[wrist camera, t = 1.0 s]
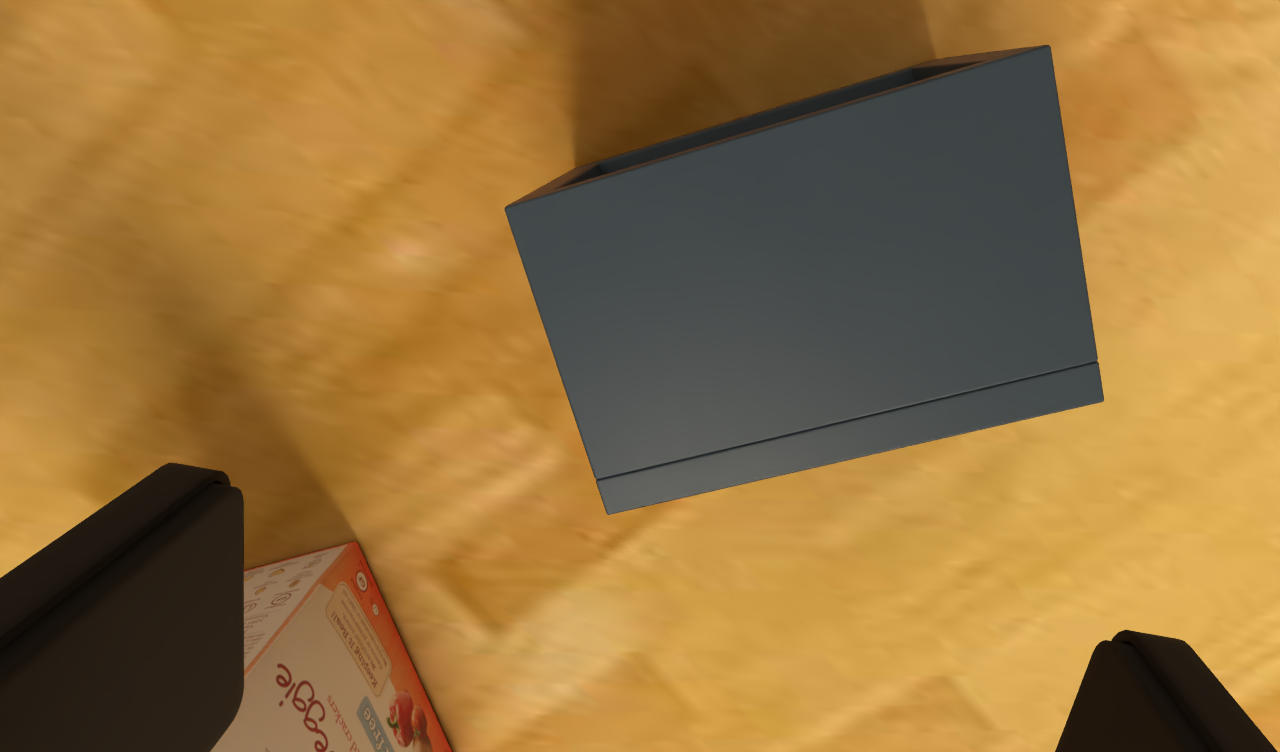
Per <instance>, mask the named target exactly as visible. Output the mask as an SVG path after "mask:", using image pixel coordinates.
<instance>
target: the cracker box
mask: <svg viewBox="0 0 1280 752" xmlns="http://www.w3.org/2000/svg"><path fill="white" fill-rule="evenodd" d="M210 752H452V750H451V749H450V747H449V745H448V742H447V740H446V738H445V736H444V733H443V731H442V729H441V727H440V724H439V722H438V720H437V718H436V716H435V713H434V711H433V709H432V707H431V705H430V702H429V700H428V698H427V696H426V694H425V691H424V689H423V687H422V685H421V682H420V680H419V678H418V676H417V674H416V671H415V669H414V667H413V665H412V663H411V660H410V658H409V656H408V654H407V652H406V649H405V647H404V645H403V643H402V640H401V638H400V636H399V634H398V632H397V629H396V627H395V625H394V623H393V620H392V618H391V616H390V614H389V612H388V609H387V607H386V605H385V603H384V600H383V598H382V596H381V595H380V592H379V589H378V587H377V585H376V583H375V581H374V578H373V576H372V574H371V572H370V570H369V567H368V565H367V562H366V560H365V558H364V557H363V554H362V552H361V550H360V547H359V545H358V543H357V542H350V543H346V544H343V545H339V546H335V547H331V548H327V549H323V550H319V551H316V552H312V553H308V554H304V555H300V556H297V557H293V558H289V559H286V560H282V561H278V562H275V563H271V564H267V565H263V566H259V567H256V568H252V569H249V570H245V571H244V693H243V698H242V702H241V705H240V708H239V710H238V713H237V715H236V717H235V719H234V720H233V722H232V723H231V725H230V726H229V728H228V729H227V730H226V732H225V733H224V734H223V736H222V737H221V738H220V740H219V741H218V742H217V743H216V745H215V746H214V747H213V749H212V750H211V751H210Z"/></svg>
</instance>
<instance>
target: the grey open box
mask: <svg viewBox="0 0 1280 752" xmlns="http://www.w3.org/2000/svg"><path fill="white" fill-rule="evenodd" d="M505 212H506V215H507V218H508V221H509V224H510V227H511V230H512V233H513V236H514V239H515V242H516V245H517V248H518V251H519V254H520V257H521V260H522V263H523V266H524V269H525V272H526V275H527V278H528V281H529V284H530V287H531V290H532V293H533V296H534V299H535V302H536V305H537V308H538V310H539V313H540V316H541V319H542V322H543V325H544V328H545V331H546V334H547V337H548V340H549V343H550V346H551V349H552V352H553V355H554V358H555V361H556V364H557V367H558V370H559V373H560V376H561V379H562V382H563V385H564V388H565V391H566V394H567V397H568V400H569V403H570V406H571V409H572V411H573V414H574V417H575V420H576V423H577V426H578V429H579V432H580V435H581V438H582V441H583V444H584V447H585V450H586V453H587V456H588V459H589V462H590V465H591V468H592V471H593V474H594V477H595V478H596V479H597V480H596V483H597V486H598V489H599V492H600V495H601V498H602V501H603V504H604V507H605V510H606V513H607V514H608V515H610V514H614V513H619V512H623V511H627V510H632V509H636V508H640V507H645V506H649V505H654V504H658V503H662V502H667V501H671V500H675V499H680V498H684V497H688V496H693V495H697V494H702V493H706V492H710V491H715V490H719V489H723V488H728V487H732V486H737V485H741V484H745V483H750V482H754V481H758V480H763V479H767V478H772V477H776V476H780V475H785V474H789V473H793V472H798V471H802V470H807V469H811V468H815V467H820V466H824V465H828V464H833V463H837V462H842V461H846V460H850V459H855V458H859V457H863V456H868V455H872V454H876V453H881V452H885V451H890V450H894V449H898V448H903V447H907V446H911V445H916V444H920V443H925V442H929V441H933V440H938V439H942V438H946V437H951V436H955V435H960V434H964V433H968V432H973V431H977V430H981V429H986V428H990V427H995V426H999V425H1003V424H1008V423H1012V422H1016V421H1021V420H1025V419H1030V418H1034V417H1038V416H1043V415H1047V414H1051V413H1056V412H1060V411H1065V410H1069V409H1073V408H1078V407H1082V406H1086V405H1091V404H1095V403H1099V402H1103V401H1104V396H1103V389H1102V382H1101V376H1100V369H1099V363H1098V362H1097V359H1098V357H1097V350H1096V344H1095V337H1094V331H1093V324H1092V317H1091V311H1090V304H1089V298H1088V291H1087V284H1086V278H1085V271H1084V265H1083V258H1082V251H1081V245H1080V238H1079V232H1078V225H1077V218H1076V212H1075V205H1074V199H1073V192H1072V185H1071V179H1070V172H1069V166H1068V159H1067V152H1066V146H1065V139H1064V133H1063V126H1062V119H1061V113H1060V106H1059V100H1058V93H1057V86H1056V80H1055V73H1054V67H1053V60H1052V53H1051V47H1050V46H1049V45H1042V46H1034V47H1025V48H1018V49H1010V50H1002V51H994V52H986V53H978V54H970V55H962V56H955V57H947V58H940V59H934V60H931V61H928V62H924V63H921V64H918V65H914V66H911V67H908V68H904V69H901V70H898V71H894V72H891V73H888V74H884V75H881V76H878V77H875V78H871V79H868V80H865V81H861V82H858V83H855V84H851V85H848V86H845V87H841V88H838V89H835V90H831V91H828V92H825V93H822V94H818V95H815V96H812V97H808V98H805V99H802V100H798V101H795V102H792V103H788V104H785V105H782V106H778V107H775V108H772V109H769V110H765V111H762V112H759V113H755V114H752V115H749V116H745V117H742V118H739V119H735V120H732V121H729V122H725V123H722V124H719V125H716V126H712V127H709V128H706V129H702V130H699V131H696V132H692V133H689V134H686V135H682V136H679V137H676V138H672V139H669V140H666V141H663V142H659V143H656V144H653V145H649V146H646V147H643V148H639V149H636V150H633V151H629V152H626V153H623V154H619V155H616V156H613V157H610V158H606V159H603V160H600V161H596V162H593V163H590V164H586V165H583V166H580V167H576V168H574V169H573V170H571V171H569V172H567V173H565V174H564V175H562V176H560V177H558V178H556V179H555V180H553V181H551V182H549V183H547V184H546V185H544V186H542V187H540V188H538V189H537V190H535V191H533V192H531V193H529V194H528V195H526V196H524V197H522V198H520V199H519V200H517V201H515V202H513V203H511V204H509V205H507V206H506V207H505Z"/></svg>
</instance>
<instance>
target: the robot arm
mask: <svg viewBox="0 0 1280 752" xmlns="http://www.w3.org/2000/svg"><path fill="white" fill-rule="evenodd" d="M243 693H244V501H243V495H242V492H241V490H240V489H239V488H237V487H232V486H231V484H230V480H229V478H228V476H227V475H226V474H225V473H224V472H223V471H217V470H212V469H206V468H200V467H195V466H189V465H183V464H177V463H168V464H166V465H163V466H162V467H160V468H159V469H157V470H156V471H154V472H153V473H151V474H150V475H149V476H147V477H146V478H144V479H143V480H141V481H140V482H138V483H137V484H136V485H134V486H133V487H131V488H130V489H128V490H127V491H125V492H124V493H123V494H121V495H120V496H118V497H117V498H115V499H114V500H112V501H111V502H110V503H108V504H107V505H105V506H104V507H102V508H101V509H99V510H98V511H97V512H95V513H94V514H92V515H91V516H89V517H88V518H86V519H85V520H84V521H82V522H81V523H79V524H78V525H76V526H75V527H74V528H72V529H71V530H69V531H68V532H66V533H65V534H63V535H62V536H61V537H59V538H58V539H56V540H55V541H53V542H52V543H50V544H49V545H48V546H46V547H45V548H43V549H42V550H40V551H39V552H37V553H36V554H35V555H33V556H32V557H30V558H29V559H27V560H26V561H24V562H23V563H22V564H20V565H19V566H17V567H16V568H14V569H13V570H11V571H10V572H9V573H7V574H6V575H4V576H3V577H1V578H0V752H210V751H211V750H212V749H213V747H214V746H215V745H216V743H217V742H218V741H219V740H220V738H221V737H222V736H223V734H224V733H225V732H226V730H227V729H228V728H229V726H230V725H231V723H232V722H233V720H234V719H235V717H236V715H237V713H238V710H239V708H240V705H241V702H242V698H243ZM1055 752H1277V750H1276V749H1275V748H1274V747H1273V746H1272V744H1271V743H1270V742H1269V741H1268V740H1267V738H1266V737H1265V736H1264V735H1263V733H1262V732H1261V731H1260V730H1259V729H1258V727H1257V726H1256V725H1255V724H1254V723H1253V721H1252V720H1251V719H1250V718H1249V717H1248V715H1247V714H1246V713H1245V712H1244V711H1243V709H1242V708H1241V707H1240V706H1239V704H1238V703H1237V702H1236V701H1235V700H1234V698H1233V697H1232V696H1231V695H1230V694H1229V692H1228V691H1227V690H1226V689H1225V688H1224V686H1223V685H1222V684H1221V683H1220V682H1219V680H1218V679H1217V678H1216V677H1215V676H1214V674H1213V673H1212V672H1211V671H1210V669H1209V668H1208V667H1207V666H1206V665H1205V663H1204V662H1203V661H1202V660H1201V659H1200V657H1199V656H1198V655H1197V654H1196V653H1195V651H1194V650H1193V649H1192V648H1191V647H1190V646H1189V645H1188V644H1187V643H1186V642H1185V641H1183V640H1179V639H1175V638H1169V637H1163V636H1158V635H1152V634H1146V633H1141V632H1135V631H1129V630H1124V631H1121V632H1118V633H1117V634H1116V635H1115V636H1114V637H1113V639H1112V641H1107V640H1105V641H1102V642H1100V643H1099V644H1098V645H1097V646H1096V648H1095V650H1094V652H1093V654H1092V656H1091V659H1090V662H1089V664H1088V667H1087V670H1086V672H1085V675H1084V678H1083V680H1082V683H1081V685H1080V688H1079V691H1078V693H1077V696H1076V699H1075V701H1074V704H1073V706H1072V709H1071V712H1070V714H1069V717H1068V720H1067V722H1066V725H1065V727H1064V730H1063V733H1062V735H1061V738H1060V741H1059V743H1058V746H1057V748H1056V751H1055Z"/></svg>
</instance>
